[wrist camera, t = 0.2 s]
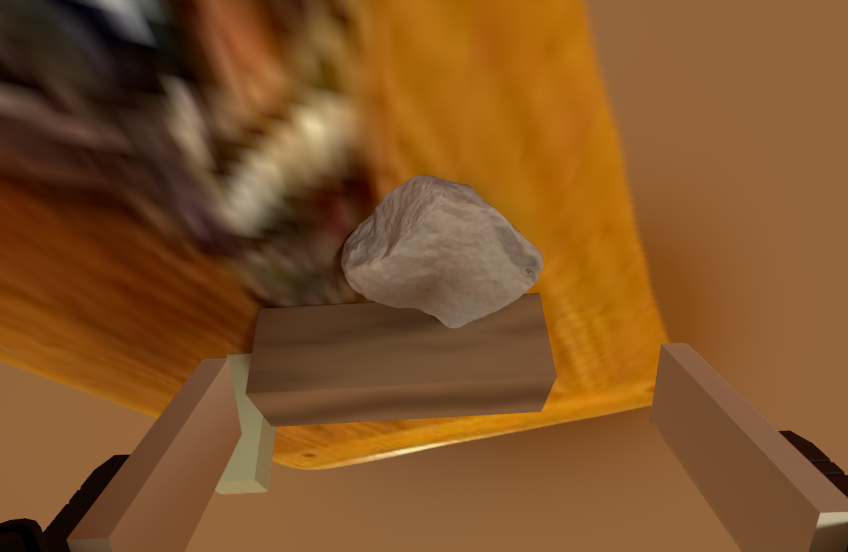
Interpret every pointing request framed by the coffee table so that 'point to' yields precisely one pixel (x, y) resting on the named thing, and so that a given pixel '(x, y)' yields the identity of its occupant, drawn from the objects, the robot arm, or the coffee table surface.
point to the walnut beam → (397, 363)
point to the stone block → (440, 253)
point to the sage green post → (248, 439)
